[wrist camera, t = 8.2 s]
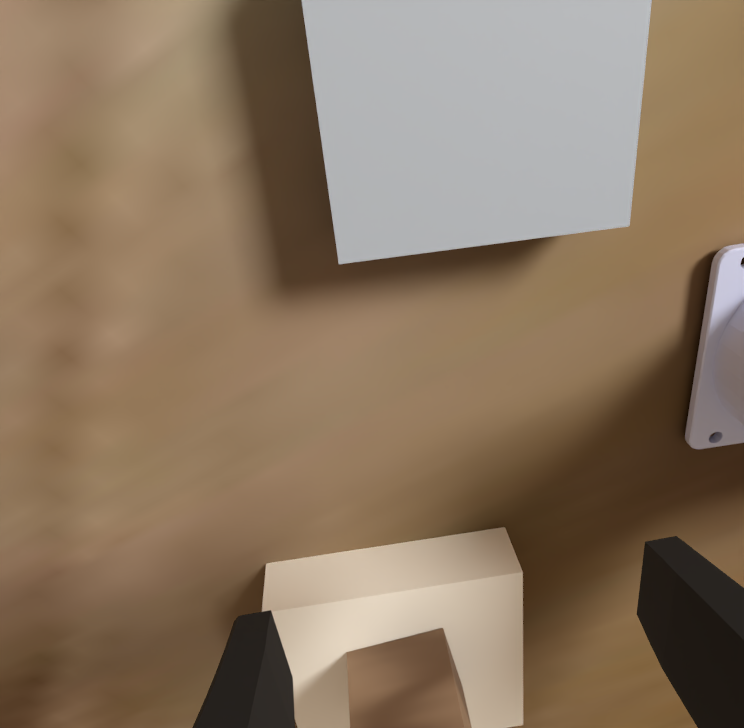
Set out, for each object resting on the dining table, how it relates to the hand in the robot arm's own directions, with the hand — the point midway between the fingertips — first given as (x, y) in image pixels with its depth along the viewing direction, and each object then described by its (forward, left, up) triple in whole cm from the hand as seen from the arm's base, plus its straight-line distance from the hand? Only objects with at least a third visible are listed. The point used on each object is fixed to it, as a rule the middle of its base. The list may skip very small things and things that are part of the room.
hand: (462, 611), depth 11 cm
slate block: (-3, -8, -11) cm, 14 cm away
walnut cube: (+1, +13, -8) cm, 16 cm away
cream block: (+1, +14, -11) cm, 18 cm away
